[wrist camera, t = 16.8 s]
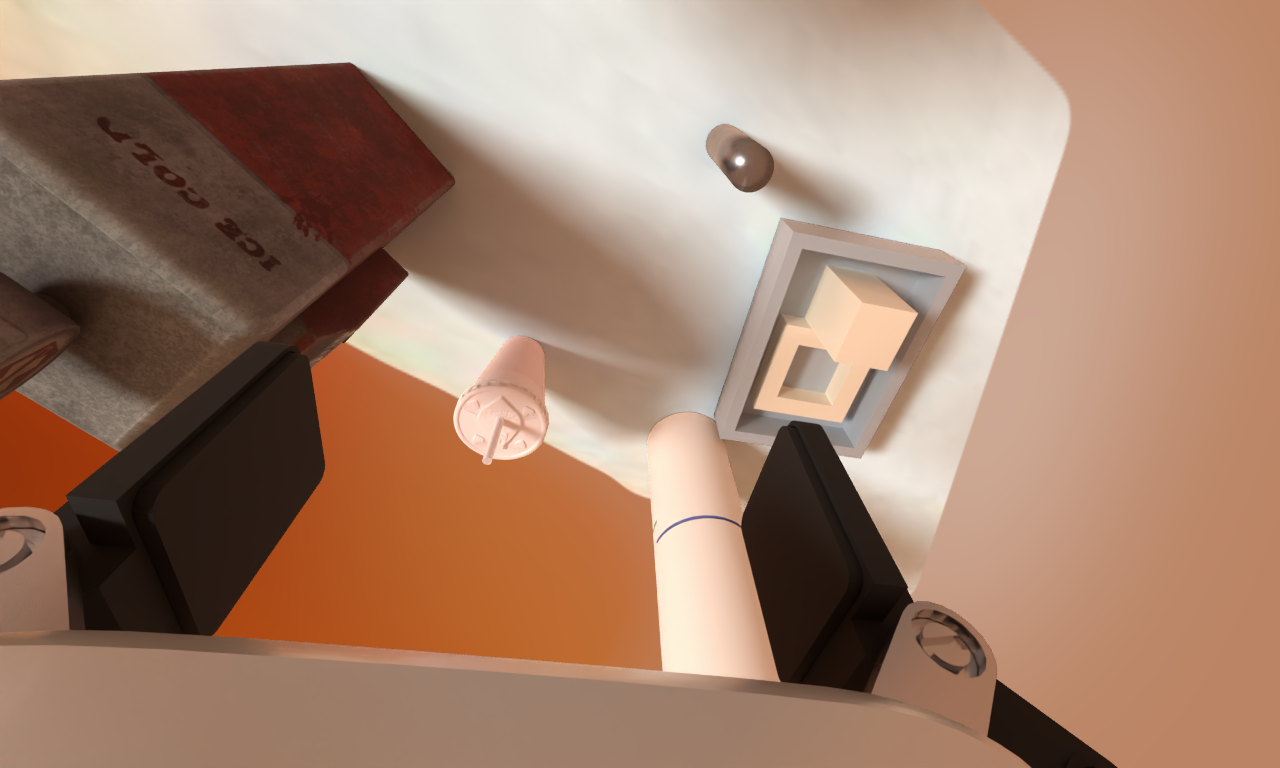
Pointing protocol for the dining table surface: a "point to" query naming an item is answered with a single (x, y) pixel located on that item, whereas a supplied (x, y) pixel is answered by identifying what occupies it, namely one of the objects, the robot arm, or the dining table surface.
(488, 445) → the smoothie
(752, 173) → the post
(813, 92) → the dining table surface
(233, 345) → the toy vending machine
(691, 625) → the cylindrical container
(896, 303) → the beige stepped block
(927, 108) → the dining table surface
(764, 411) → the tray
